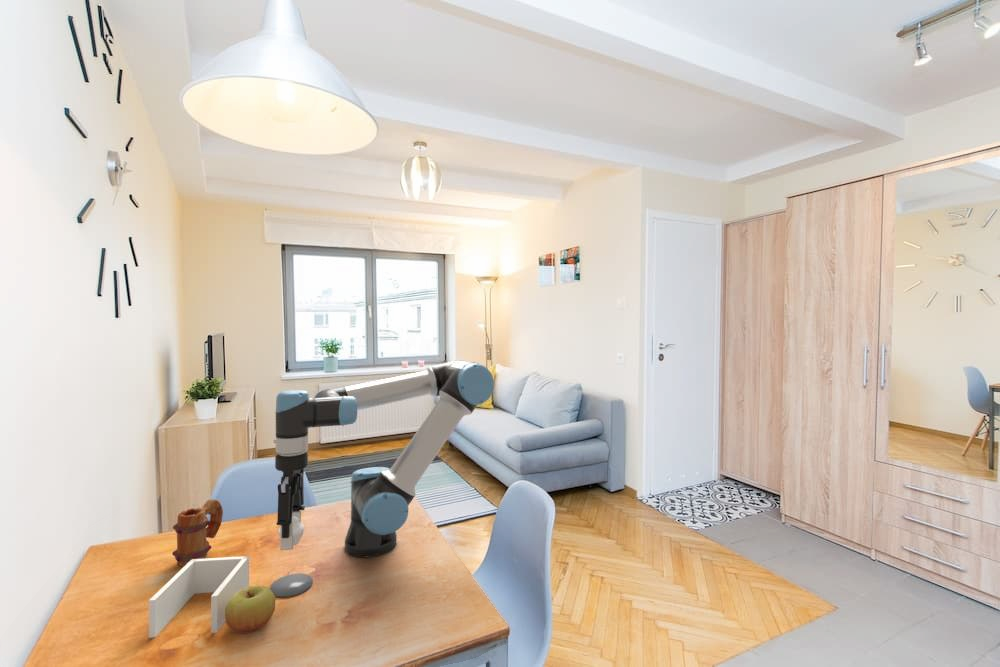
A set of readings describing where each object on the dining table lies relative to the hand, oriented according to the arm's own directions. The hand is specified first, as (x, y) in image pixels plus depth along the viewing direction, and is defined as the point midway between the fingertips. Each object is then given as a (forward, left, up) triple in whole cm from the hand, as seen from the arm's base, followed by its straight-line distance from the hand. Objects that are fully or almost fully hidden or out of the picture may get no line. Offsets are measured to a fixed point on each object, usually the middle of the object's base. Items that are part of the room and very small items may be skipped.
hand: (290, 542), depth 116 cm
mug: (+30, -18, -11) cm, 37 cm away
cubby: (+17, +8, -11) cm, 22 cm away
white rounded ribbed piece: (0, 0, -1) cm, 1 cm away
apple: (+4, +15, -11) cm, 19 cm away
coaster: (0, 0, -11) cm, 11 cm away
